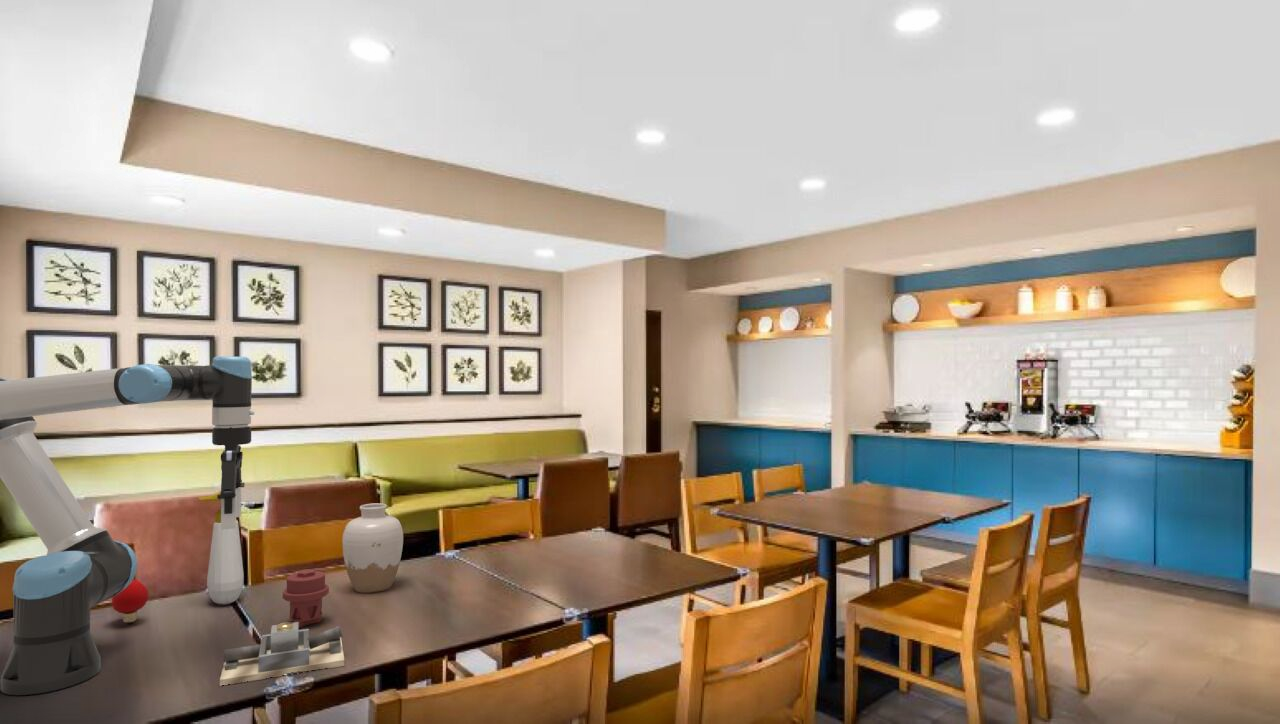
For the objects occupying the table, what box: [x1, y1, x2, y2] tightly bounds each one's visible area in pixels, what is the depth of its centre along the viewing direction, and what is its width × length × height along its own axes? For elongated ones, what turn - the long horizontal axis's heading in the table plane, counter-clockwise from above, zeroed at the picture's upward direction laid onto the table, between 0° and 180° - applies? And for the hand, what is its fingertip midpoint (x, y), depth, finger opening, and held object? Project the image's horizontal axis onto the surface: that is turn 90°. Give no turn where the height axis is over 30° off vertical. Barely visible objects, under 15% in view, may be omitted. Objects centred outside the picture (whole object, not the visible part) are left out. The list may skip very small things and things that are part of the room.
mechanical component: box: [282, 568, 330, 629], centre depth 171 cm, size 12×10×10 cm
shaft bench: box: [219, 625, 345, 687], centre depth 147 cm, size 22×14×6 cm, turn 115°
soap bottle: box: [198, 490, 245, 606], centre depth 187 cm, size 13×10×29 cm
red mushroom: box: [111, 578, 149, 625], centre depth 171 cm, size 9×7×10 cm
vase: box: [342, 502, 404, 594], centre depth 199 cm, size 16×16×23 cm
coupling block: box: [270, 621, 299, 654], centre depth 148 cm, size 5×5×7 cm
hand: (231, 522), depth 158 cm, fingers open, 13 cm apart
